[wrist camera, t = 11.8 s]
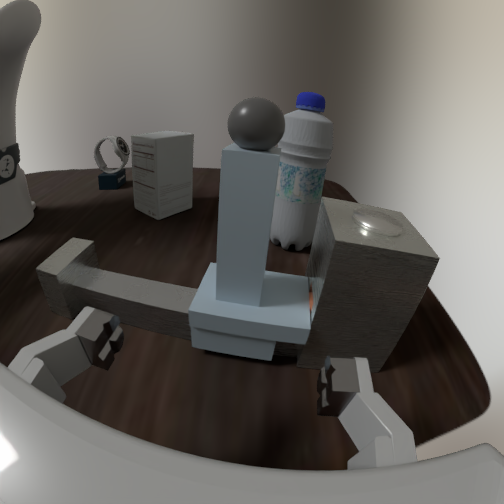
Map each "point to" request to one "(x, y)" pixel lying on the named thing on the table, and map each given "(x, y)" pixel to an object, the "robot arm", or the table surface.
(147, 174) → the supplement box
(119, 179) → the watch
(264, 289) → the ball-topped pillar
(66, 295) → the grey slide rail
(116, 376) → the table surface
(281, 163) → the bottle
